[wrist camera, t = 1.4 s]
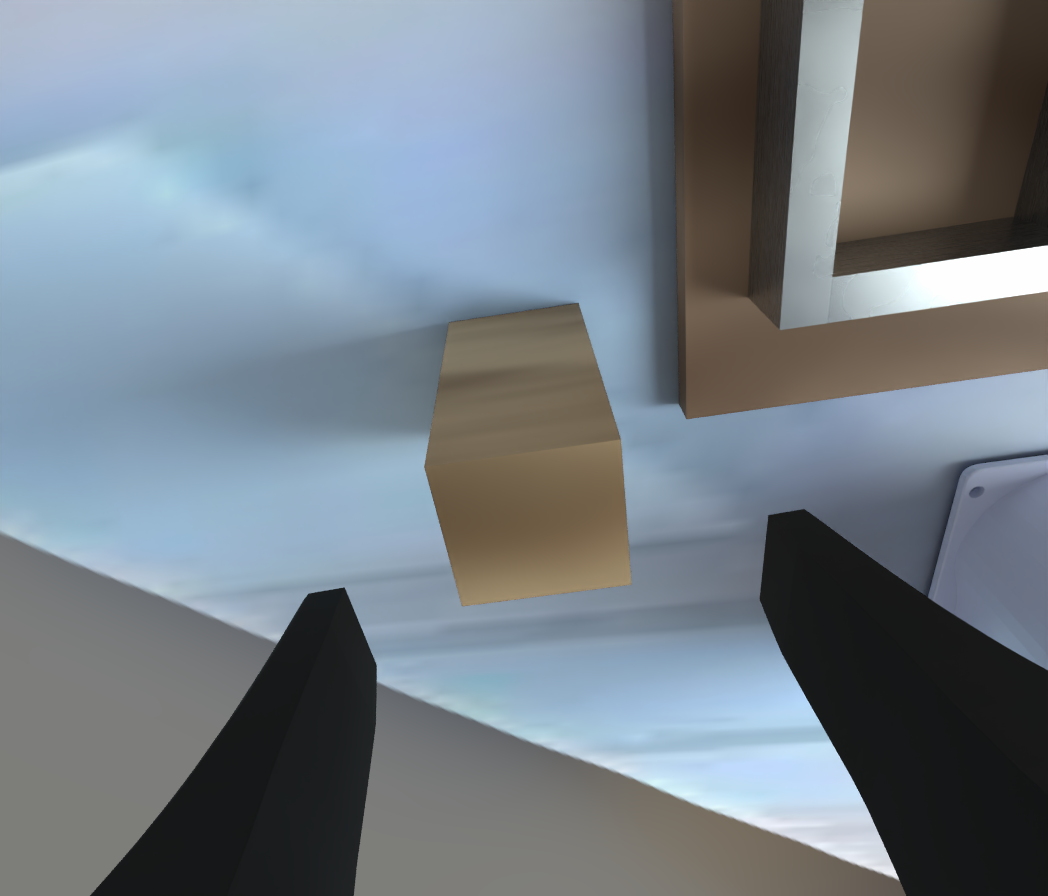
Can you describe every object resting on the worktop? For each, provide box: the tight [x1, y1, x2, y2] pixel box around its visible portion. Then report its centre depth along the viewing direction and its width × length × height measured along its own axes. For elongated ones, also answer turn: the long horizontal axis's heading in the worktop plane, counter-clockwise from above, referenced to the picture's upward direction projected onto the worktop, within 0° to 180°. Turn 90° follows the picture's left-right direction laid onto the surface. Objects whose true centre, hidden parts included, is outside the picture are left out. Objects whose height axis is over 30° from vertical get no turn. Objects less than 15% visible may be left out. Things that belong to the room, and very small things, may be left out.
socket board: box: [673, 0, 1048, 419], centre depth 16 cm, size 16×12×4 cm
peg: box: [424, 303, 632, 606], centre depth 18 cm, size 4×4×8 cm
